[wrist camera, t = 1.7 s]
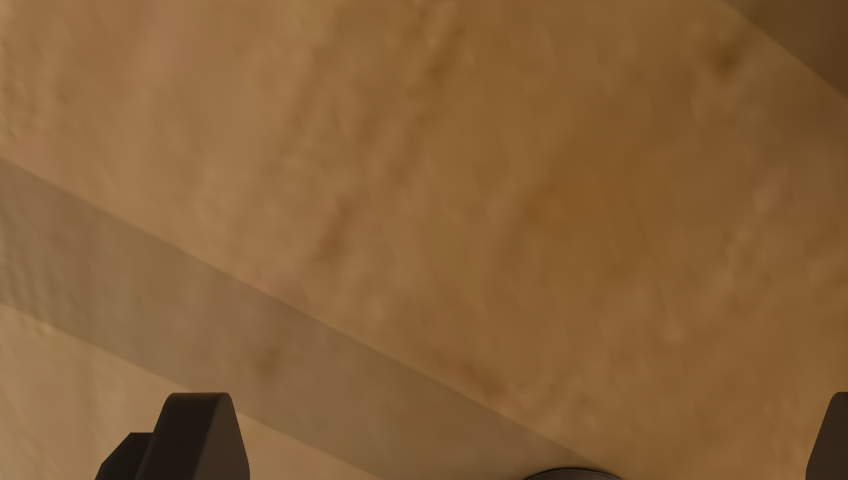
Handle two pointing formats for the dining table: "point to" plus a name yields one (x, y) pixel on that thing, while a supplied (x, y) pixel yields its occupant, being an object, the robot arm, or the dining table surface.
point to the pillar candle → (573, 475)
